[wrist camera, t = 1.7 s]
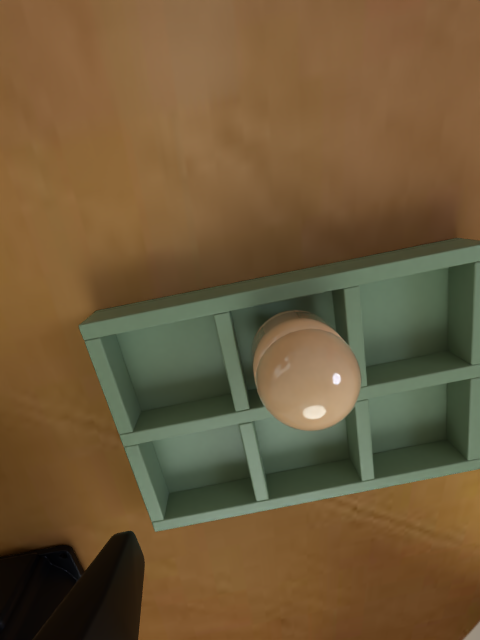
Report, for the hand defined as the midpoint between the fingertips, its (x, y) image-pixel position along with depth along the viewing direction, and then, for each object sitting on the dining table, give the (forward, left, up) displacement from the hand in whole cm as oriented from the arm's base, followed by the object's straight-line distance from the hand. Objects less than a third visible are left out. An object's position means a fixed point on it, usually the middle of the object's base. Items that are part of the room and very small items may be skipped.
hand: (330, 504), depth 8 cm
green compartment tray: (-4, -1, -12) cm, 13 cm away
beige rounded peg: (-1, -1, -12) cm, 12 cm away
